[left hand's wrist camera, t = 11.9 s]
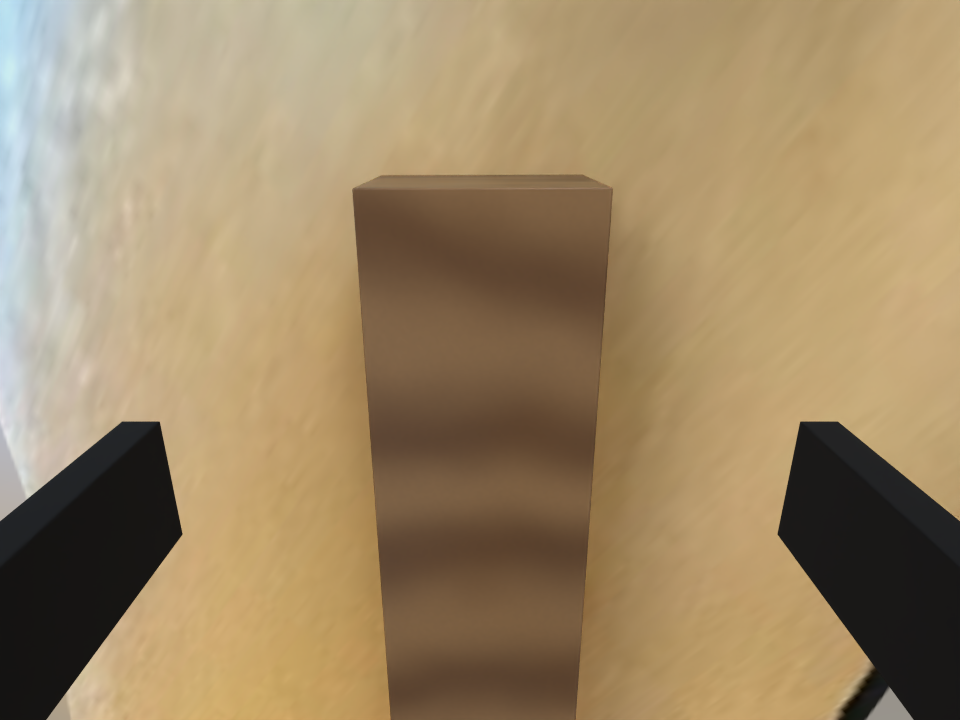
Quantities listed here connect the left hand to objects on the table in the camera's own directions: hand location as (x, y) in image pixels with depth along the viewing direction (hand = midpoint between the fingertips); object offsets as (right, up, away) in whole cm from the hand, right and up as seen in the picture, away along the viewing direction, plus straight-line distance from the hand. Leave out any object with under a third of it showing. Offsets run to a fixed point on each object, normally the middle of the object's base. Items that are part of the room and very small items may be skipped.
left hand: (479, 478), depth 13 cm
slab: (0, -12, +27) cm, 30 cm away
